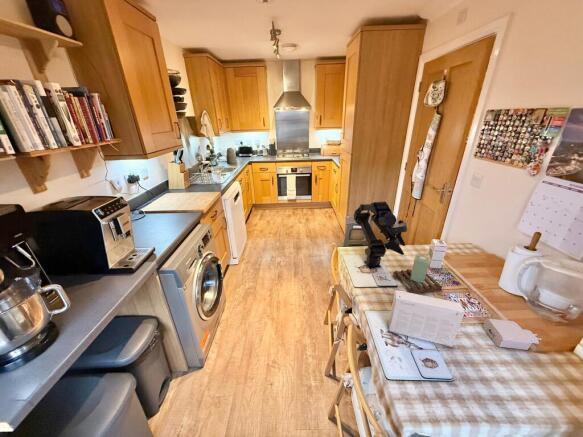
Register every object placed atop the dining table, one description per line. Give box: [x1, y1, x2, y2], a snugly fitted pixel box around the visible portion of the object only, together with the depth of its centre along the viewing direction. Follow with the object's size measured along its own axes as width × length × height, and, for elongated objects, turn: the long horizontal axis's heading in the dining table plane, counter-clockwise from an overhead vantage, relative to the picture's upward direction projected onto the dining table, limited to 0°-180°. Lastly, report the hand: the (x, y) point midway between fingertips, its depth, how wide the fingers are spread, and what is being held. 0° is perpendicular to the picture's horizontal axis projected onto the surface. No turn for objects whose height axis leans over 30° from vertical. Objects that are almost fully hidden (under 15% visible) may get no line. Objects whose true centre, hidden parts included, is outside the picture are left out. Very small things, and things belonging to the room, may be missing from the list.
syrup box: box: [426, 238, 448, 269], centre depth 122 cm, size 6×6×14 cm
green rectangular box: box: [410, 254, 429, 284], centre depth 108 cm, size 6×6×12 cm
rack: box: [392, 268, 443, 295], centre depth 111 cm, size 16×14×3 cm
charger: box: [483, 318, 543, 351], centre depth 83 cm, size 5×9×15 cm
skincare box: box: [388, 289, 466, 348], centre depth 83 cm, size 21×6×16 cm, turn 71°
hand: (404, 249), depth 114 cm, fingers open, 9 cm apart
